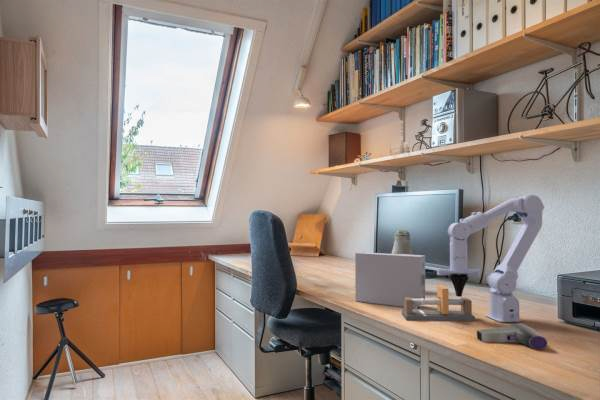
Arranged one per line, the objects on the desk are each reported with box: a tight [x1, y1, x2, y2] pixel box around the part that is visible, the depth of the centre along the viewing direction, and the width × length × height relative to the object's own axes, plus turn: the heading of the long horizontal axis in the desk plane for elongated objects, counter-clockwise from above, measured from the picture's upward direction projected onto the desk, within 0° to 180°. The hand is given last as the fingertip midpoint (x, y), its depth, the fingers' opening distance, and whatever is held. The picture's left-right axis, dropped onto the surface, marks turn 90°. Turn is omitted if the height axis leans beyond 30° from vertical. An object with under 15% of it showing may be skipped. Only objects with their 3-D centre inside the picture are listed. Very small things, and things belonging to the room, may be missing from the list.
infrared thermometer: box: [476, 323, 548, 350], centre depth 122 cm, size 5×12×15 cm
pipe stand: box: [401, 297, 476, 322], centre depth 151 cm, size 23×8×7 cm, turn 87°
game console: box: [354, 251, 426, 309], centre depth 173 cm, size 6×27×20 cm, turn 59°
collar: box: [436, 284, 450, 314], centre depth 151 cm, size 2×7×9 cm, turn 177°
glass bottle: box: [391, 229, 413, 255], centre depth 201 cm, size 10×10×28 cm
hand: (458, 296), depth 150 cm, fingers closed
